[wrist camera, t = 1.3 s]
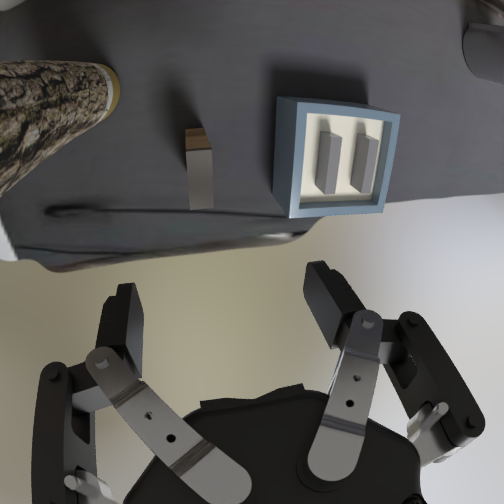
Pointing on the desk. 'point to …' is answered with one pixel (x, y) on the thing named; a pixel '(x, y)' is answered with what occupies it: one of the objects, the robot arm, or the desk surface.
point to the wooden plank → (199, 169)
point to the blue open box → (332, 156)
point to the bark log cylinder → (48, 110)
